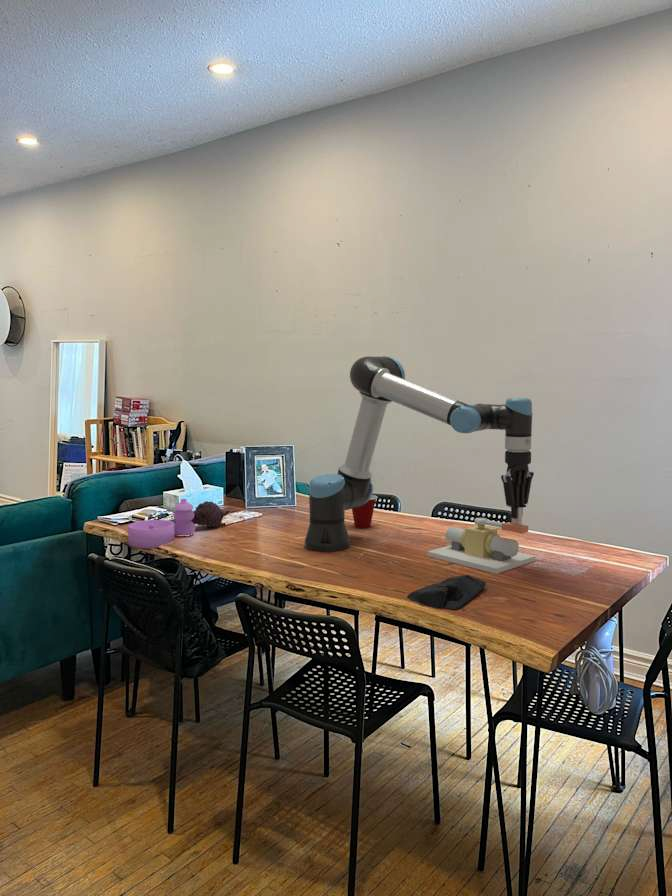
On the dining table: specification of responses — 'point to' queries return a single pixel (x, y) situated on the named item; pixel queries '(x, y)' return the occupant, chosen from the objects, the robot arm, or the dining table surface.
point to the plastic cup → (364, 513)
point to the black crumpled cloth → (448, 592)
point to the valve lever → (503, 525)
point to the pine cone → (208, 514)
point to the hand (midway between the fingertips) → (516, 528)
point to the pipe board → (482, 562)
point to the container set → (162, 528)
